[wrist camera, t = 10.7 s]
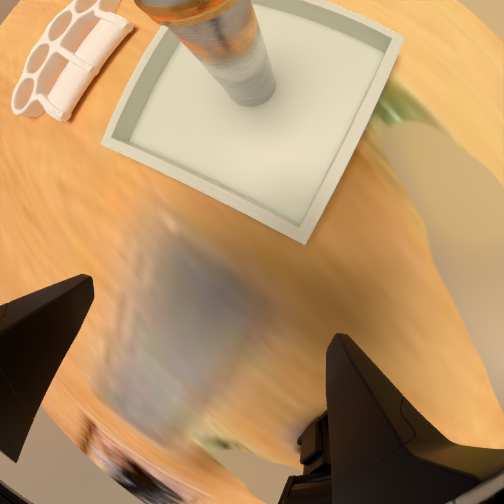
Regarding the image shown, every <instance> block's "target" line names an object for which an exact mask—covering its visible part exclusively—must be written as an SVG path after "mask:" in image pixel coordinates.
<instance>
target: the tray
mask: <svg viewBox="0 0 504 504" xmlns="http://www.w3.org/2000/svg"><path fill="white" fill-rule="evenodd" d="M251 3H252V6H253V9H254V12H255V15H256V18H257V21H258V24H259V27H260V30H261V33H262V37H263V40H264V43H265V46H266V50H267V53H268V56H269V60H270V63H271V67H272V70H273V74H274V77H275V81H276V87H275V91H274V93H273V95H272V97H271V98H270V99H269V100H268V101H266V102H265V103H263V104H261V105H258V106H254V107H245V106H242V105H239V104H237V103H236V102H234V101H233V100H232V99H231V98H230V96H229V95H228V94H227V93H226V92H225V90H224V89H223V88H222V87H221V86H220V84H219V83H218V82H217V81H216V80H215V79H214V77H213V76H212V75H211V74H210V73H209V72H208V71H207V69H206V68H205V67H204V66H203V65H202V64H201V63H200V62H199V60H198V59H197V58H196V57H195V56H194V55H193V54H192V53H191V52H190V51H189V49H188V48H187V47H186V46H185V45H184V44H183V43H182V42H181V41H180V40H179V39H178V38H177V37H176V36H175V35H174V34H173V32H172V31H171V30H170V29H169V28H168V27H166V26H161V27H160V29H159V30H158V32H157V33H156V35H155V37H154V38H153V40H152V41H151V43H150V45H149V46H148V48H147V50H146V51H145V53H144V55H143V56H142V58H141V60H140V62H139V63H138V65H137V67H136V69H135V71H134V72H133V74H132V76H131V78H130V80H129V82H128V84H127V86H126V88H125V90H124V92H123V94H122V96H121V98H120V100H119V102H118V104H117V107H116V109H115V111H114V113H113V115H112V118H111V120H110V122H109V125H108V127H107V130H106V132H105V134H104V137H103V139H102V142H101V145H103V146H105V147H108V148H110V149H112V150H114V151H116V152H118V153H121V154H123V155H125V156H127V157H129V158H131V159H134V160H136V161H138V162H140V163H142V164H144V165H146V166H148V167H151V168H153V169H155V170H157V171H159V172H161V173H163V174H165V175H167V176H169V177H171V178H174V179H176V180H178V181H180V182H182V183H184V184H186V185H188V186H190V187H192V188H194V189H196V190H198V191H200V192H202V193H204V194H206V195H208V196H210V197H212V198H214V199H216V200H218V201H220V202H222V203H224V204H226V205H228V206H230V207H232V208H234V209H236V210H238V211H240V212H242V213H244V214H246V215H248V216H250V217H251V218H253V219H255V220H257V221H259V222H261V223H263V224H265V225H267V226H269V227H271V228H273V229H275V230H276V231H278V232H280V233H282V234H284V235H286V236H288V237H290V238H292V239H293V240H295V241H297V242H299V243H301V244H303V245H305V244H306V243H307V241H308V239H309V237H310V235H311V233H312V232H313V230H314V228H315V226H316V224H317V222H318V220H319V219H320V217H321V215H322V213H323V211H324V209H325V207H326V205H327V203H328V201H329V199H330V198H331V196H332V194H333V192H334V190H335V188H336V186H337V184H338V182H339V180H340V178H341V176H342V174H343V172H344V170H345V168H346V166H347V164H348V162H349V160H350V158H351V156H352V154H353V152H354V150H355V148H356V146H357V144H358V142H359V140H360V138H361V135H362V133H363V131H364V129H365V127H366V125H367V123H368V121H369V119H370V116H371V114H372V112H373V110H374V108H375V106H376V104H377V101H378V99H379V97H380V95H381V92H382V90H383V88H384V86H385V84H386V81H387V79H388V77H389V74H390V72H391V70H392V68H393V65H394V63H395V61H396V58H397V56H398V53H399V51H400V49H401V46H402V44H403V41H404V39H405V37H403V36H401V35H400V34H398V33H396V32H394V31H392V30H390V29H388V28H387V27H385V26H383V25H381V24H379V23H377V22H375V21H373V20H370V19H368V18H366V17H364V16H362V15H359V14H357V13H355V12H353V11H350V10H348V9H345V8H343V7H340V6H338V5H335V4H332V3H330V2H327V1H324V0H251Z"/></svg>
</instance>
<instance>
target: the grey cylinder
mask: <svg viewBox="0 0 504 504" xmlns="http://www.w3.org/2000/svg"><path fill="white" fill-rule="evenodd" d="M134 2H135V4H136V5H137V6H138V7H139V8H140V9H141V10H142V11H144V12H145V13H146V14H147V15H148V16H149V17H150V18H151V19H152V20H153V21H154V22H156V23H157V24H160V25H162V26H166V27H168V28H169V29H170V30H171V31H172V32H173V34H174V35H175V36H176V37H177V38H178V39H179V40H180V41H181V42H182V43H183V44H184V45H185V46H186V47H187V48H188V49H189V51H190V52H191V53H192V54H193V55H194V56H195V57H196V58H197V59H198V60H199V62H200V63H201V64H202V65H203V66H204V67H205V68H206V69H207V71H208V72H209V73H210V74H211V75H212V76H213V77H214V79H215V80H216V81H217V82H218V83H219V84H220V86H221V87H222V88H223V89H224V90H225V92H226V93H227V94H228V95H229V96H230V98H231V99H232V100H233V101H234V102H236V103H237V104H239V105H242V106H245V107H254V106H258V105H261V104H263V103H265V102H266V101H268V100H269V99H270V98H271V97H272V95H273V93H274V91H275V87H276V81H275V77H274V74H273V70H272V67H271V63H270V60H269V56H268V53H267V50H266V46H265V43H264V40H263V37H262V33H261V30H260V27H259V24H258V21H257V18H256V15H255V12H254V9H253V6H252V3H251V0H134Z"/></svg>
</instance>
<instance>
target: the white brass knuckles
mask: <svg viewBox="0 0 504 504" xmlns="http://www.w3.org/2000/svg"><path fill="white" fill-rule="evenodd" d="M120 1H121V0H73V2H72V3H71V4H70V5H69V6H67V7H66V8H65V9H64V10H63V11H61V12H60V13H59V14H58V15H57V16H56V17H55V18H54V19H53V20H52V21H51V22H50V24H49V25H48V26H47V28H46V30H45V32H44V34H43V35H42V37H41V38H40V40H39V41H38V42H37V44H36V45H35V46H34V47H33V48H32V50H31V52H30V54H29V56H28V58H27V60H26V63H25V67H24V71H23V73H22V76H21V78H20V80H19V82H18V84H17V86H16V87H15V89H14V91H13V95H12V101H11V107H12V111H13V113H14V114H16V115H20V116H27V117H33V118H36V117H39V116H40V115H42V114H43V113H44V112H45V111H46V112H47V113H48V114H50V115H51V116H52V117H54V118H55V119H57V120H59V121H61V122H66V121H67V120H69V118H70V117H71V115H72V114H71V113H72V111H73V109H74V108H75V106H76V104H77V103H78V101H79V100H80V98H81V96H82V95H83V93H84V92H85V90H86V89H87V87H88V86H89V84H90V83H91V81H92V80H93V78H94V77H95V76H96V75H97V74H98V73H99V71H100V68H101V67H102V66H103V64H104V63H105V61H106V60H107V59H108V58H109V56H110V55H111V54H112V52H113V51H114V50H115V49H116V47H117V46H118V45H119V44H120V42H121V41H122V40H123V39H124V38H125V36H126V35H127V34H128V33H130V32H131V31H132V30H133V29H134V26H135V25H134V24H132V23H131V22H130V21H128V20H126V19H125V18H123V17H121V16H119V15H117V14H114V13H115V11H116V10H117V8H118V6H119V4H120ZM92 29H93V30H92ZM91 30H92V31H91ZM90 31H91V32H90ZM89 32H90V33H89ZM88 34H89V35H88ZM87 35H88V36H87ZM86 36H87V37H86ZM85 38H86V39H85ZM84 39H85V40H84ZM83 40H84V41H83ZM82 42H83V43H82ZM81 43H82V44H81ZM80 44H81V45H80ZM79 46H80V47H79ZM78 47H79V48H78ZM67 63H68V64H67ZM66 64H67V65H66ZM65 66H66V67H65ZM64 67H65V69H64ZM63 69H64V70H63ZM62 71H63V72H62ZM61 72H62V73H61ZM60 74H61V75H60ZM59 75H60V76H59ZM58 77H59V78H58ZM57 79H58V80H57ZM56 80H57V81H56ZM55 82H56V83H55Z"/></svg>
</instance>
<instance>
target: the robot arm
mask: <svg viewBox="0 0 504 504" xmlns="http://www.w3.org/2000/svg"><path fill="white" fill-rule="evenodd" d="M93 300H94V286H93V279H92V277H91V276H89V275H86V274H80V275H77V276H75V277H72V278H69V279H67V280H64V281H61V282H59V283H56V284H53V285H51V286H48V287H46V288H43V289H41V290H38V291H35V292H33V293H30V294H28V295H25V296H23V297H20V298H18V299H15V300H13V301H11V302H9V303H6V304H3V305H1V306H0V451H1V452H2V453H3V454H4V455H6V456H7V457H8V458H10V459H11V460H12V461H14V462H15V463H17V461H18V458H19V456H20V453H21V450H22V447H23V445H24V442H25V440H26V437H27V435H28V432H29V430H30V427H31V425H32V423H33V420H34V419H33V418H34V417H35V415H36V413H37V411H38V409H39V407H40V404H41V402H42V400H43V398H44V396H45V394H46V392H47V390H48V388H49V386H50V384H51V382H52V380H53V378H54V376H55V374H56V372H57V370H58V368H59V366H60V364H61V362H62V361H63V359H64V357H65V355H66V353H67V351H68V350H69V348H70V346H71V344H72V343H73V341H74V339H75V337H76V336H77V334H78V332H79V330H80V328H81V326H82V324H83V321H84V319H85V317H86V315H87V313H88V311H89V309H90V306H91V304H92V302H93ZM326 399H327V411H326V412H325V413H324V414H323V415H322V416H321V417H320V418H319V419H318V420H317V421H315V422H314V423H313V424H312V425H311V426H310V427H309V428H308V429H307V430H306V431H305V432H304V433H303V434H302V436H301V437H300V438H299V439H298V440H297V444H298V445H300V446H301V456H300V463H301V464H303V465H304V469H303V475H299V476H295V475H294V476H289V477H288V480H287V483H286V484H285V487H284V490H283V492H282V495H281V497H280V500H279V502H278V504H504V449H489V448H479V447H471V446H463V445H458V444H455V443H453V442H451V441H450V440H448V439H447V438H446V437H445V436H444V435H443V434H442V433H440V432H439V431H438V430H437V429H436V428H435V427H434V426H433V425H432V424H431V423H430V422H429V421H428V420H426V419H425V418H424V417H423V416H422V415H421V414H420V413H419V412H418V411H417V410H416V409H415V408H414V407H413V405H412V404H411V403H410V402H409V401H408V400H407V399H406V398H405V397H404V396H403V395H402V393H401V392H400V391H399V390H398V389H397V388H396V387H395V386H394V385H393V384H392V382H391V381H390V380H389V379H388V378H387V377H386V376H385V375H384V374H383V373H382V371H381V370H380V369H379V368H378V367H377V366H376V365H375V364H374V363H373V362H372V361H371V359H370V358H369V357H368V356H367V355H366V354H365V353H364V352H363V351H362V350H361V349H360V347H359V346H358V345H357V344H356V343H355V342H354V341H353V340H352V339H351V338H350V337H349V336H348V335H347V334H342V333H337V334H335V336H334V337H333V339H332V341H331V343H330V345H329V347H328V349H327V352H326ZM0 504H33V503H31V502H30V501H29V500H27V499H26V498H24V497H23V496H21V495H20V494H18V493H17V492H15V491H14V490H13V489H11V488H10V487H9V486H7V485H6V484H5V483H4V482H2V481H1V480H0Z"/></svg>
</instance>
